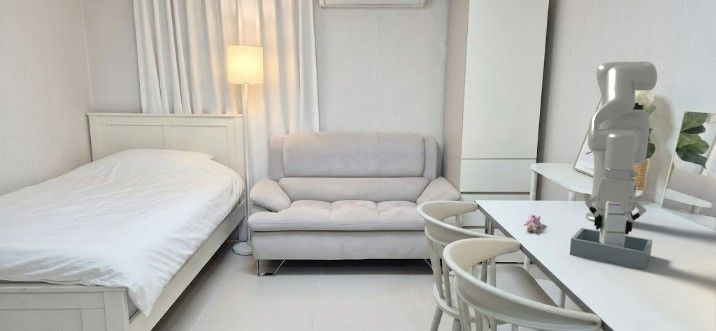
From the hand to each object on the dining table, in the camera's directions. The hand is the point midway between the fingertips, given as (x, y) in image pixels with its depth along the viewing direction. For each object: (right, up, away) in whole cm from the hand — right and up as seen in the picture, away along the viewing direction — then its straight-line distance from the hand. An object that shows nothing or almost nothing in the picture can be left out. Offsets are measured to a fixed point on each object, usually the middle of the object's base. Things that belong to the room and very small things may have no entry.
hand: (612, 230), depth 142 cm
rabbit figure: (-14, -3, +28) cm, 31 cm away
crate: (0, -8, +1) cm, 8 cm away
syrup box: (0, -5, +1) cm, 5 cm away
